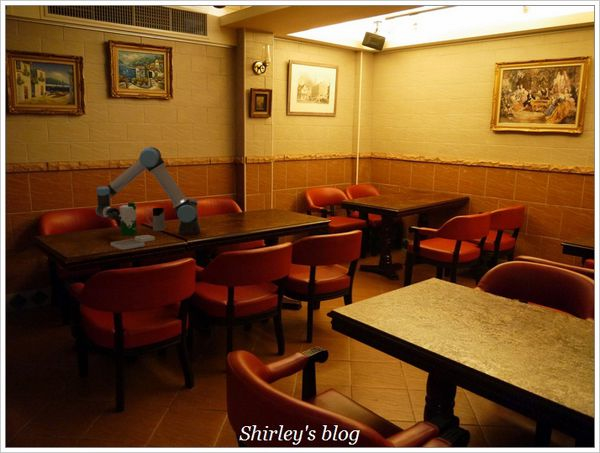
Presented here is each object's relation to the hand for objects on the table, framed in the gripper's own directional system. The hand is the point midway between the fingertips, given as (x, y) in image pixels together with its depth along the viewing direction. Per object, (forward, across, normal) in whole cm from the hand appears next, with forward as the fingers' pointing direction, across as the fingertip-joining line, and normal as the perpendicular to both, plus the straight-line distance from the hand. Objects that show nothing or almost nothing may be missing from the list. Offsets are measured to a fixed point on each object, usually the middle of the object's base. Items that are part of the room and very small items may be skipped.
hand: (129, 218), depth 308 cm
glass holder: (-37, -38, -18) cm, 56 cm away
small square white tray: (-11, -16, -18) cm, 26 cm away
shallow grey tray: (-4, 0, -18) cm, 18 cm away
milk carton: (-4, -1, -11) cm, 12 cm away
